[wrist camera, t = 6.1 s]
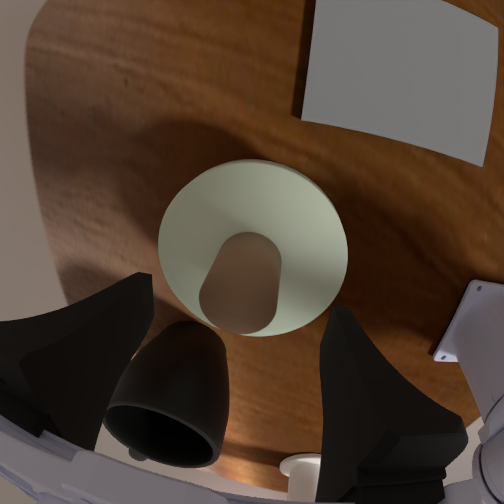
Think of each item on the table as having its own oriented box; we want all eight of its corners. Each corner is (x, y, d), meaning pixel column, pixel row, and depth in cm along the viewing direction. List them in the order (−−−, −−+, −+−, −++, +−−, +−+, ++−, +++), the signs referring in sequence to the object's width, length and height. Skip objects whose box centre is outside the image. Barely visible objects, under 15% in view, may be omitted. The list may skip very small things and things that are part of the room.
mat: (493, 29, 12) (498, 28, 11) (477, 165, 16) (482, 167, 16) (319, -31, 12) (319, -34, 12) (301, 119, 17) (301, 119, 16)
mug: (125, 367, 28) (84, 441, 20) (170, 288, 23) (114, 381, 15) (196, 406, 29) (170, 485, 21) (262, 343, 24) (244, 447, 16)
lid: (367, 184, 14) (395, 218, 10) (315, 336, 18) (318, 398, 14) (174, 144, 14) (127, 163, 10) (163, 302, 18) (132, 355, 14)
